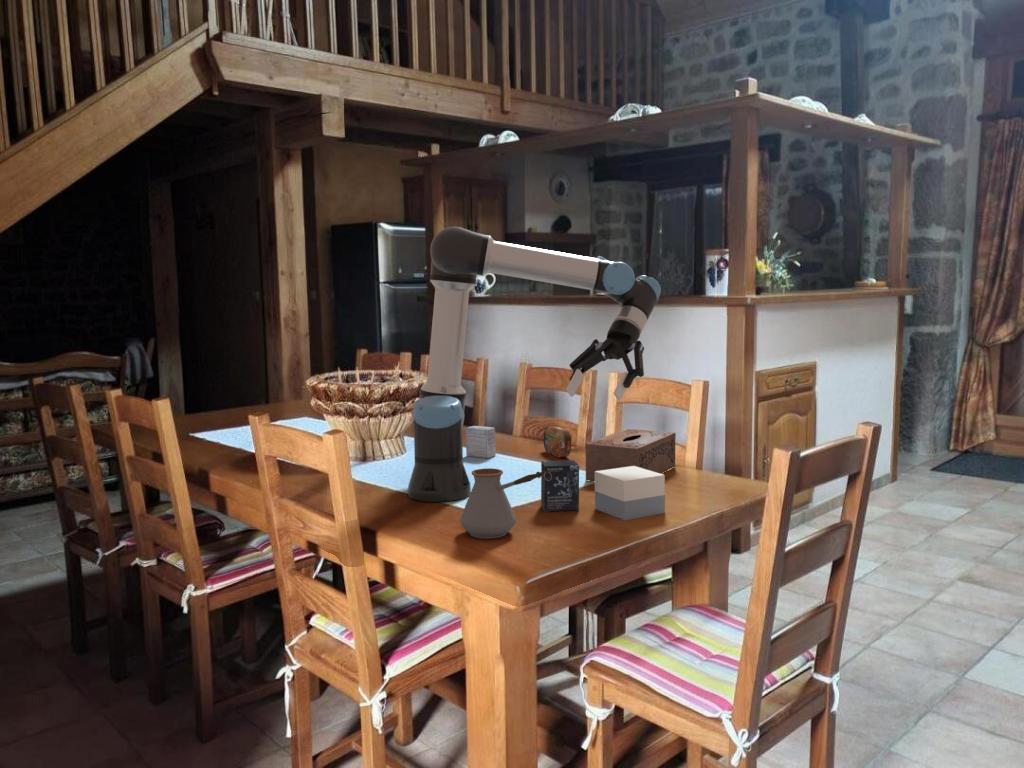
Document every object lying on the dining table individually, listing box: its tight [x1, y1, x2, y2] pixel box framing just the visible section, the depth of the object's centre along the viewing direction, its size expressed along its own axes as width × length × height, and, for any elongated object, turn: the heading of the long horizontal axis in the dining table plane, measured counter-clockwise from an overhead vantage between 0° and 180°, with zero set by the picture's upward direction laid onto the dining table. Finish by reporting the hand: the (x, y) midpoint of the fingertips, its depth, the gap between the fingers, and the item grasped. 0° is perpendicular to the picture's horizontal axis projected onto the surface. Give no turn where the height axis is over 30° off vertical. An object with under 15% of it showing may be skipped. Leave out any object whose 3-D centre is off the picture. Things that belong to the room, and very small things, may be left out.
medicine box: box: [465, 425, 497, 459], centre depth 249 cm, size 8×4×9 cm, turn 58°
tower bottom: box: [594, 490, 666, 521], centre depth 187 cm, size 11×11×4 cm
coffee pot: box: [459, 467, 552, 539], centre depth 167 cm, size 21×12×15 cm, turn 52°
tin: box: [542, 425, 572, 458], centre depth 249 cm, size 15×3×8 cm, turn 22°
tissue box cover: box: [585, 428, 677, 482], centre depth 223 cm, size 26×14×10 cm, turn 148°
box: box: [540, 459, 580, 513], centre depth 189 cm, size 8×6×11 cm
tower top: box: [594, 466, 666, 502], centre depth 186 cm, size 11×11×4 cm
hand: (592, 395), depth 199 cm, fingers open, 13 cm apart
